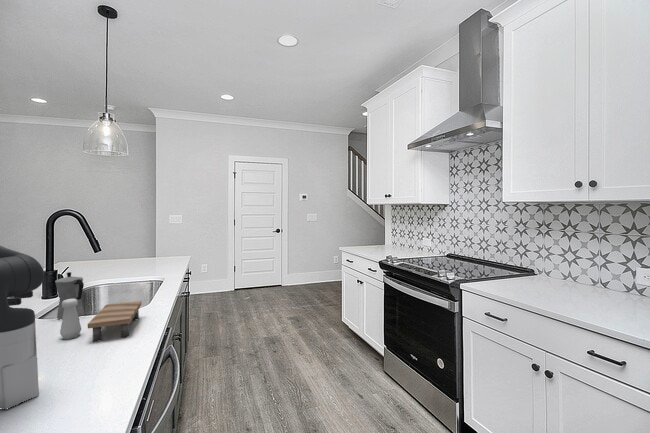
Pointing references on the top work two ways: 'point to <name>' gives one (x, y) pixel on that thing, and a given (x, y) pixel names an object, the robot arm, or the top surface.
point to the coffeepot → (70, 293)
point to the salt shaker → (70, 320)
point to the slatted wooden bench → (115, 318)
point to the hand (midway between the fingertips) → (26, 297)
